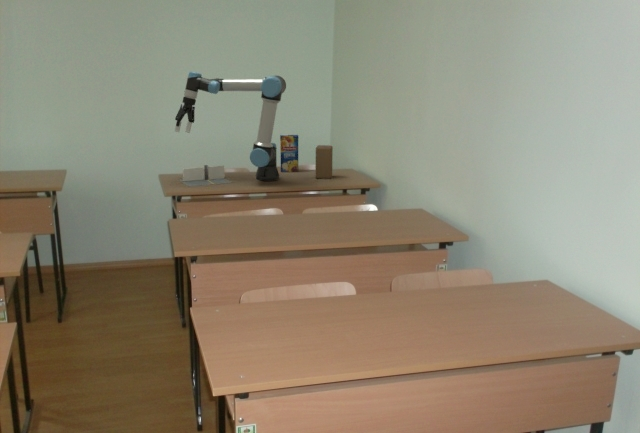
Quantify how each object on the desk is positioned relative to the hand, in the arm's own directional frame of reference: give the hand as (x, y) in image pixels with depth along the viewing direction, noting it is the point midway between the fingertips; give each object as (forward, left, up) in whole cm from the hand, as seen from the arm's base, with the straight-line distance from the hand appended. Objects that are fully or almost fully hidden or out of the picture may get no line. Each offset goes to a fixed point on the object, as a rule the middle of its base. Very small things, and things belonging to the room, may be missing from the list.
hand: (182, 132), depth 380 cm
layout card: (-11, +7, -30) cm, 33 cm away
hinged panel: (-5, +3, -30) cm, 30 cm away
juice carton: (-73, -4, -31) cm, 79 cm away
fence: (-18, +3, -30) cm, 35 cm away
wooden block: (-84, +25, -31) cm, 93 cm away
